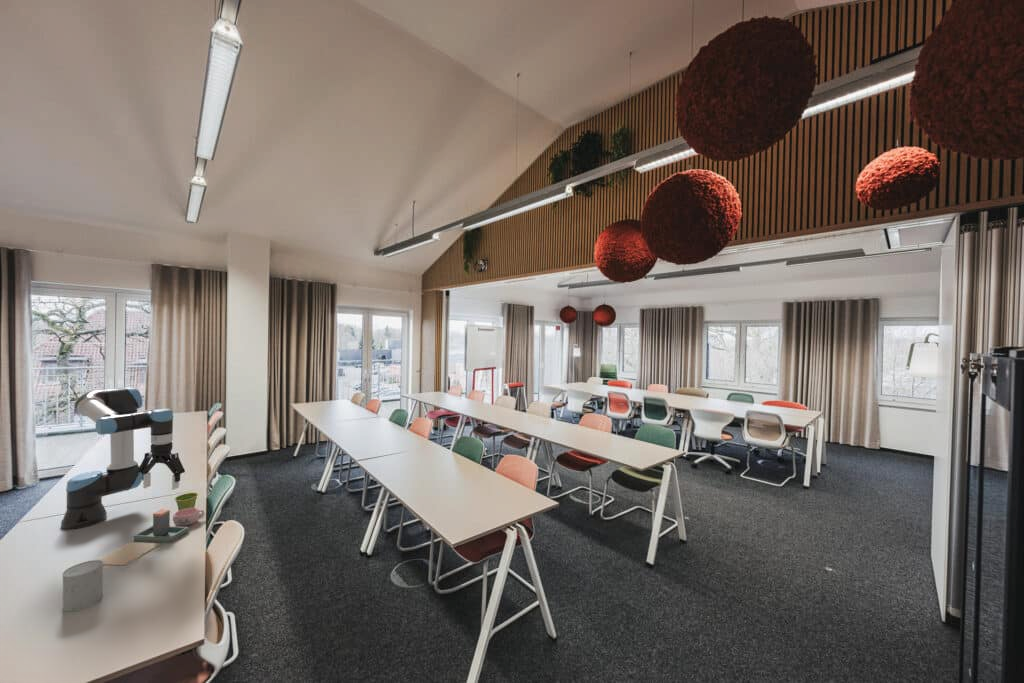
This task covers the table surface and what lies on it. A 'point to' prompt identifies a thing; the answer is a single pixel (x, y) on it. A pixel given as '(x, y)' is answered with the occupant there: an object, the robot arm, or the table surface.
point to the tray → (170, 537)
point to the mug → (186, 516)
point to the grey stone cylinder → (82, 585)
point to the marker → (161, 522)
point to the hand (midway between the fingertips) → (161, 487)
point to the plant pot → (186, 501)
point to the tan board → (128, 553)
